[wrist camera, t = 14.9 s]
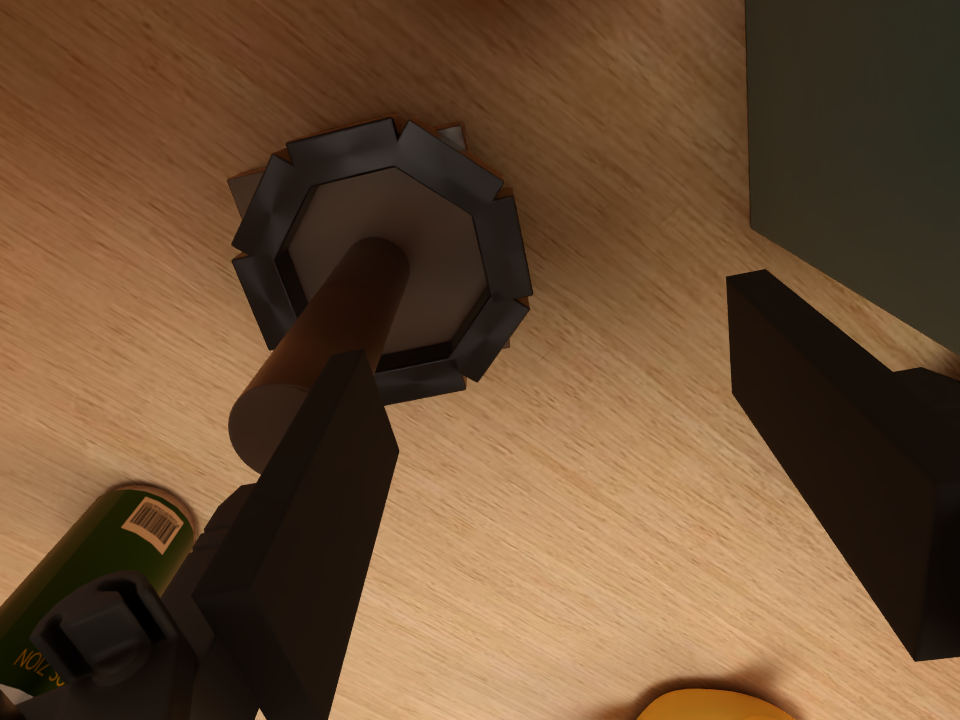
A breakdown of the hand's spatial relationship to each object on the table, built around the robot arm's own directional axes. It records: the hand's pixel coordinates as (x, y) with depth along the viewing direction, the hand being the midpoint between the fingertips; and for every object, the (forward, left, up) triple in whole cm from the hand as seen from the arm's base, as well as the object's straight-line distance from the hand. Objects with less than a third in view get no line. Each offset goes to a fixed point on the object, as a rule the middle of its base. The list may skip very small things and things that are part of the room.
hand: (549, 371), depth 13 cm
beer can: (+11, -22, -13) cm, 28 cm away
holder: (0, -6, -13) cm, 14 cm away
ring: (0, -5, -11) cm, 13 cm away
